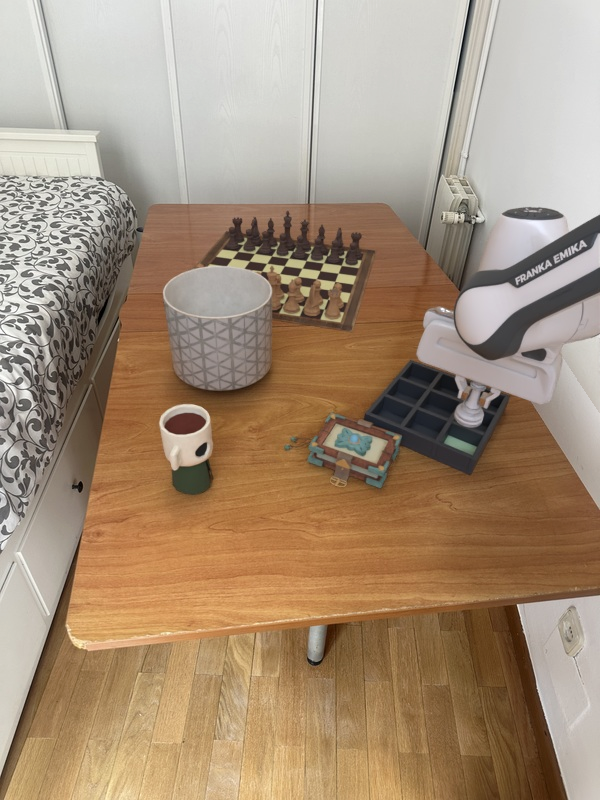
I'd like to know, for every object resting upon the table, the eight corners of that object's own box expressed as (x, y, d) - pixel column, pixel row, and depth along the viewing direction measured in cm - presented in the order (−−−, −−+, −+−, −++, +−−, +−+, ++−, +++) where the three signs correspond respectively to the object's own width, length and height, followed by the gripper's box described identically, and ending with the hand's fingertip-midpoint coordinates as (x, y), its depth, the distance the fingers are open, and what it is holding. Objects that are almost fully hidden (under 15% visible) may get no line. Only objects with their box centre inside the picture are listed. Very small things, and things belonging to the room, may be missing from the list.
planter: (272, 403, 99) (273, 317, 88) (168, 404, 98) (155, 317, 86) (271, 345, 114) (271, 266, 102) (180, 345, 112) (170, 265, 101)
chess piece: (482, 413, 87) (499, 362, 80) (481, 430, 83) (498, 379, 77) (455, 407, 88) (469, 356, 81) (452, 424, 84) (467, 373, 78)
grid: (505, 410, 100) (510, 395, 98) (470, 475, 87) (476, 460, 85) (407, 374, 108) (410, 359, 105) (362, 428, 95) (364, 413, 92)
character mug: (202, 513, 79) (195, 450, 71) (157, 504, 80) (144, 441, 72) (225, 461, 87) (221, 399, 79) (184, 453, 88) (175, 392, 80)
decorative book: (307, 415, 97) (309, 394, 94) (401, 447, 91) (406, 425, 88) (273, 463, 87) (273, 441, 84) (375, 502, 82) (380, 480, 79)
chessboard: (162, 302, 126) (156, 261, 119) (226, 231, 160) (224, 195, 153) (352, 332, 119) (357, 289, 112) (376, 250, 153) (381, 214, 147)
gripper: (418, 311, 76) (403, 387, 85) (568, 359, 68) (534, 438, 77) (435, 294, 81) (418, 368, 89) (577, 337, 73) (544, 414, 81)
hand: (473, 401), depth 83 cm, fingers closed on chess piece, 2 cm apart
